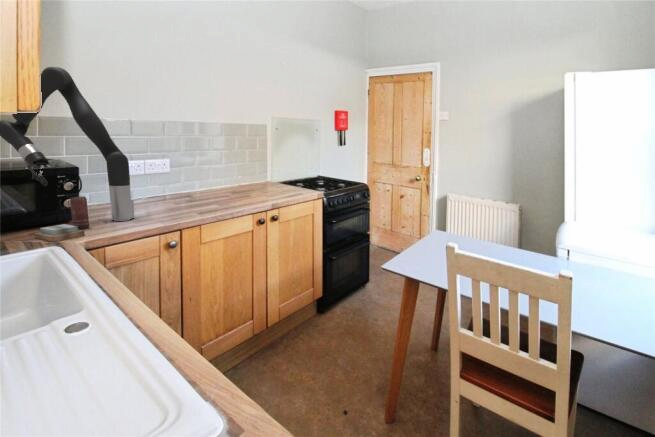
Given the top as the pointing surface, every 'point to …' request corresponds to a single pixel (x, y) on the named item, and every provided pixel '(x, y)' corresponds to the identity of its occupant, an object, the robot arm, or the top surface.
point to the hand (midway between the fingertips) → (55, 183)
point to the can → (79, 212)
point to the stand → (59, 232)
